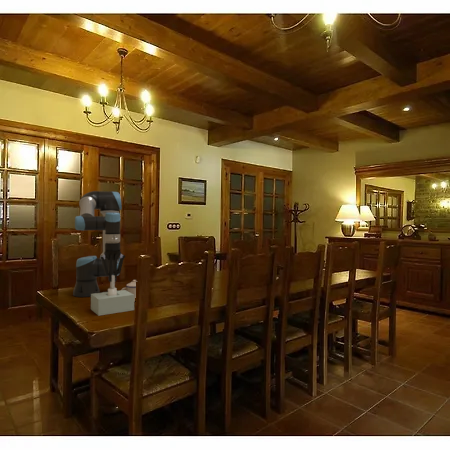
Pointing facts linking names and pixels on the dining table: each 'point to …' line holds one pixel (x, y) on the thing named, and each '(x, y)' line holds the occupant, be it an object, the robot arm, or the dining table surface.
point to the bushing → (112, 291)
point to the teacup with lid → (131, 288)
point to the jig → (112, 302)
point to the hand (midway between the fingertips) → (112, 287)
